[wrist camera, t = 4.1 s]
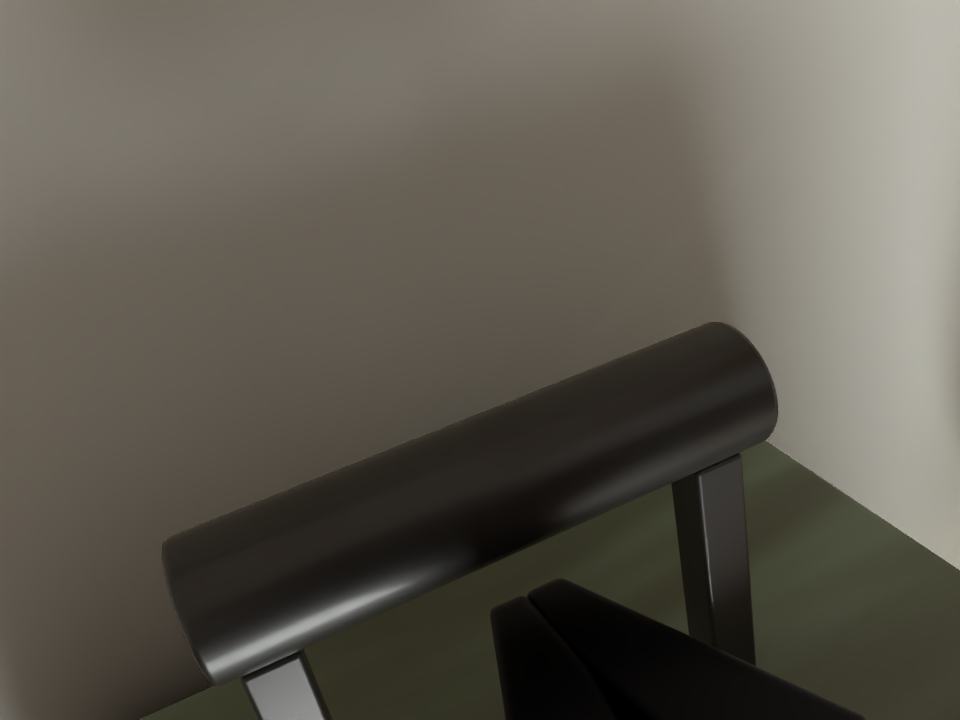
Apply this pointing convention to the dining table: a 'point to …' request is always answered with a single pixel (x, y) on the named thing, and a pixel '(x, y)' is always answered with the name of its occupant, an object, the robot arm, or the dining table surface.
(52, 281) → the dining table surface
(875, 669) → the drawer
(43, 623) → the dining table surface
